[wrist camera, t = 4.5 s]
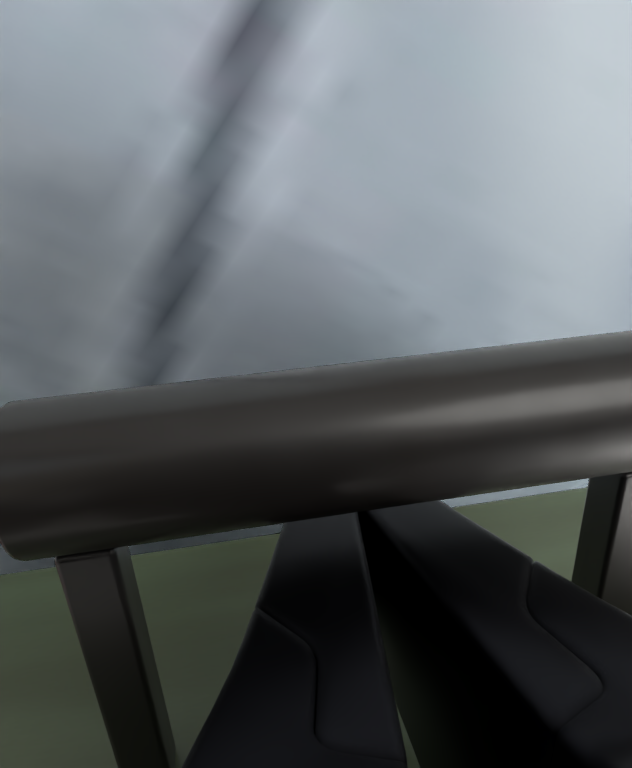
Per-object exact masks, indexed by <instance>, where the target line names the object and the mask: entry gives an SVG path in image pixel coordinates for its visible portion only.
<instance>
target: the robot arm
mask: <svg viewBox="0 0 632 768" xmlns="http://www.w3.org/2000/svg"><path fill="white" fill-rule="evenodd" d="M396 705H397V707H398V710H399V713H400V715H401V718H402V721H403V723H404V726H405V729H406V731H407V734H408V736H409V739H410V742H411V744H412V747H413V750H414V752H415V755H416V758H417V760H418V763H419V766H420V768H632V616H631V615H630V614H628V613H626V612H624V611H622V610H620V609H618V608H617V607H615V606H613V605H611V604H609V603H607V602H605V601H604V600H602V599H600V598H598V597H596V596H595V595H593V594H591V593H590V592H588V591H586V590H585V589H583V588H581V587H579V586H578V585H576V584H574V583H573V582H571V581H569V580H568V579H566V578H564V577H563V576H561V575H559V574H558V573H556V572H554V571H553V570H551V569H550V568H548V567H546V566H545V565H543V564H542V563H540V562H538V561H534V562H533V559H532V558H531V557H530V556H528V555H527V554H525V553H523V552H522V551H520V550H519V549H517V548H515V547H514V546H512V545H511V544H509V543H507V542H506V541H504V540H503V539H501V538H499V537H498V536H496V535H494V534H493V533H491V532H490V531H488V530H486V529H485V528H483V527H482V526H480V525H478V524H477V523H475V522H474V521H472V520H470V519H469V518H467V517H466V516H464V515H462V514H461V513H459V512H457V511H456V510H454V509H453V508H451V507H449V506H448V505H446V504H445V503H443V502H441V501H440V500H437V501H430V502H423V503H417V504H410V505H403V506H396V507H389V508H383V509H376V510H369V511H362V512H355V513H349V514H342V515H335V516H328V517H321V518H315V519H308V520H301V521H294V522H287V523H284V524H283V527H282V530H281V533H280V536H279V539H278V541H277V544H276V547H275V550H274V553H273V556H272V559H271V562H270V565H269V567H268V570H267V573H266V576H265V579H264V582H263V585H262V588H261V591H260V593H259V596H258V599H257V602H256V605H255V610H254V611H253V613H252V616H251V618H250V621H249V624H248V627H247V630H246V633H245V636H244V638H243V641H242V643H241V646H240V648H239V651H238V653H237V656H236V658H235V661H234V663H233V666H232V668H231V670H230V673H229V675H228V677H227V679H226V681H225V683H224V685H223V687H222V689H221V691H220V693H219V695H218V698H217V700H216V702H215V704H214V706H213V708H212V710H211V712H210V714H209V716H208V717H207V719H206V721H205V723H204V725H203V727H202V729H201V731H200V733H199V735H198V737H197V739H196V740H195V742H194V744H193V746H192V748H191V750H190V752H189V754H188V756H187V758H186V760H185V762H184V763H183V765H182V767H181V768H408V767H407V757H406V752H405V747H404V742H403V737H402V732H401V727H400V722H399V717H398V712H397V707H396Z"/></svg>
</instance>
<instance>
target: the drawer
mask: <svg viewBox="0 0 632 768" xmlns="http://www.w3.org/2000/svg"><path fill="white" fill-rule="evenodd" d="M586 478H589V482H588V487H586V488H579V489H573V490H566V491H559V492H553V493H546V494H539V495H532V496H526V497H519V498H512V499H506V500H499V501H492V502H486V503H479V504H472V505H465V506H459V507H452V508H453V509H454V510H456V511H457V512H459V513H461V514H462V515H464V516H466V517H467V518H469V519H470V520H472V521H474V522H475V523H477V524H478V525H480V526H482V527H483V528H485V529H486V530H488V531H490V532H491V533H493V534H494V535H496V536H498V537H499V538H501V539H503V540H504V541H506V542H507V543H509V544H511V545H512V546H514V547H515V548H517V549H519V550H520V551H522V552H523V553H525V554H527V555H528V556H530V557H531V558H532V559H533V562H534V561H538V562H540V563H542V564H543V565H545V566H546V567H548V568H550V569H551V570H553V571H554V572H556V573H558V574H559V575H561V576H563V577H564V578H566V579H568V580H569V581H571V582H573V583H574V584H576V585H578V586H579V587H581V588H583V589H585V590H586V591H588V592H590V593H591V594H593V595H595V596H596V597H598V598H600V599H602V600H604V601H605V602H607V603H609V604H611V605H613V606H615V607H617V608H618V609H620V610H622V611H624V612H626V613H628V614H630V615H631V616H632V331H624V332H615V333H606V334H598V335H589V336H580V337H571V338H563V339H554V340H545V341H536V342H528V343H519V344H510V345H501V346H492V347H484V348H475V349H466V350H457V351H449V352H440V353H431V354H422V355H414V356H405V357H396V358H387V359H379V360H370V361H361V362H352V363H344V364H335V365H326V366H317V367H308V368H300V369H291V370H282V371H273V372H265V373H256V374H247V375H238V376H230V377H221V378H212V379H203V380H195V381H186V382H177V383H168V384H160V385H151V386H142V387H133V388H124V389H116V390H107V391H98V392H89V393H81V394H72V395H63V396H54V397H46V398H37V399H28V400H19V401H12V402H9V403H7V404H5V405H3V406H2V407H1V408H0V543H1V545H2V547H3V548H4V550H5V551H6V552H7V553H8V554H9V555H10V556H11V557H12V558H14V559H17V560H20V561H29V560H36V559H43V558H50V557H55V560H54V562H55V565H56V567H50V568H43V569H37V570H30V571H23V572H16V573H10V574H3V575H0V768H181V767H182V765H183V763H184V762H185V760H186V758H187V756H188V754H189V752H190V750H191V748H192V746H193V744H194V742H195V740H196V739H197V737H198V735H199V733H200V731H201V729H202V727H203V725H204V723H205V721H206V719H207V717H208V716H209V714H210V712H211V710H212V708H213V706H214V704H215V702H216V700H217V698H218V695H219V693H220V691H221V689H222V687H223V685H224V683H225V681H226V679H227V677H228V675H229V673H230V670H231V668H232V666H233V663H234V661H235V658H236V656H237V653H238V651H239V648H240V646H241V643H242V641H243V638H244V636H245V633H246V630H247V627H248V624H249V621H250V618H251V616H252V613H253V611H254V610H255V605H256V602H257V599H258V596H259V593H260V591H261V588H262V585H263V582H264V579H265V576H266V573H267V570H268V567H269V565H270V562H271V559H272V556H273V553H274V550H275V547H276V544H277V541H278V539H279V536H280V533H278V534H271V535H264V536H258V537H251V538H244V539H238V540H231V541H224V542H217V543H211V544H204V545H197V546H191V547H184V548H177V549H171V550H164V551H157V552H150V553H144V554H137V555H130V551H129V547H128V546H131V545H138V544H145V543H152V542H158V541H165V540H172V539H179V538H185V537H192V536H199V535H206V534H213V533H219V532H226V531H233V530H240V529H247V528H253V527H260V526H267V525H274V524H281V523H287V522H294V521H301V520H308V519H315V518H321V517H328V516H335V515H342V514H349V513H355V512H362V511H369V510H376V509H383V508H389V507H396V506H403V505H410V504H417V503H423V502H430V501H437V500H444V499H451V498H457V497H464V496H471V495H478V494H485V493H491V492H498V491H505V490H512V489H519V488H525V487H532V486H539V485H546V484H552V483H559V482H566V481H573V480H580V479H586ZM396 707H397V705H396ZM397 712H398V717H399V722H400V727H401V732H402V737H403V742H404V747H405V752H406V757H407V767H408V768H420V766H419V763H418V760H417V758H416V755H415V752H414V750H413V747H412V744H411V742H410V739H409V736H408V734H407V731H406V729H405V726H404V723H403V721H402V718H401V715H400V713H399V710H398V707H397Z"/></svg>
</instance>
